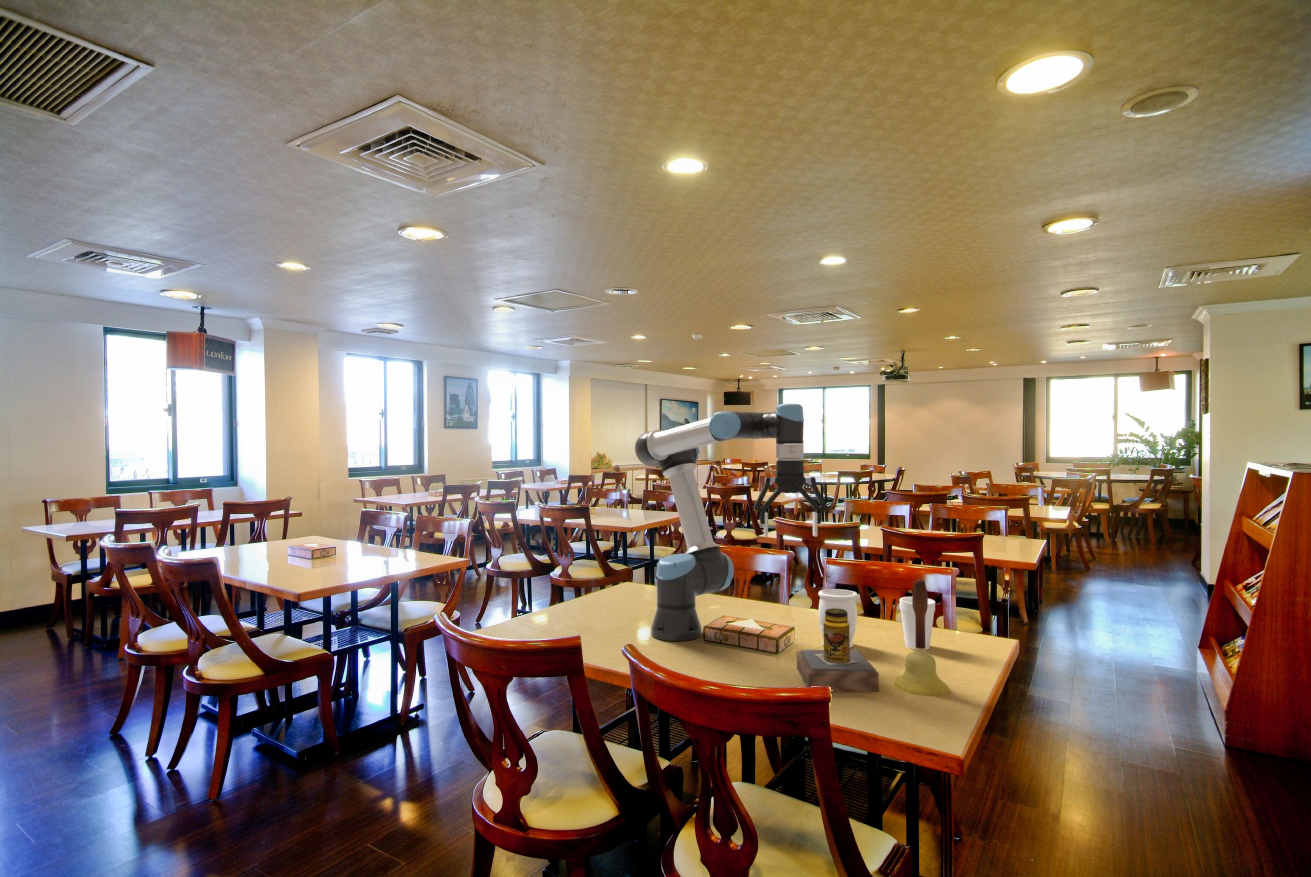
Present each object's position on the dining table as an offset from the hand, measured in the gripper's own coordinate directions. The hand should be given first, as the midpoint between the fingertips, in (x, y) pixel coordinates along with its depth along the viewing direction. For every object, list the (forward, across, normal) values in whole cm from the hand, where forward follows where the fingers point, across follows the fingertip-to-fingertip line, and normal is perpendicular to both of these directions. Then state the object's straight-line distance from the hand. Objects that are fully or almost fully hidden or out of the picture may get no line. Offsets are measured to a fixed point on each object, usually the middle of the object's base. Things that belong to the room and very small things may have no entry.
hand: (790, 536), depth 187 cm
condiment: (+27, +7, -23) cm, 36 cm away
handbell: (+32, +26, -27) cm, 49 cm away
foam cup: (+32, +36, +4) cm, 48 cm away
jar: (+32, +14, +5) cm, 35 cm away
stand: (+32, +7, -23) cm, 40 cm away
